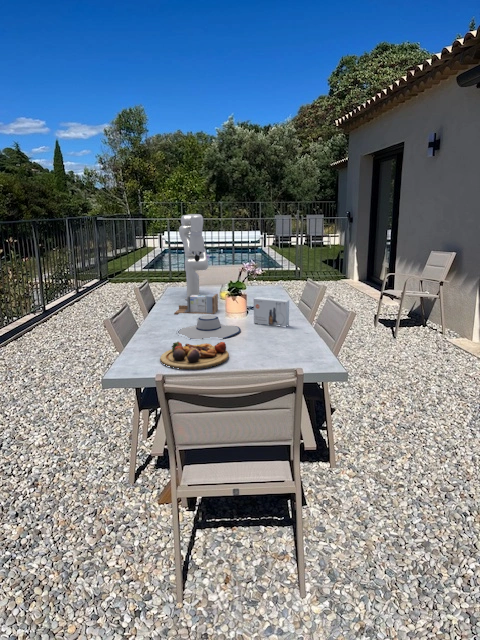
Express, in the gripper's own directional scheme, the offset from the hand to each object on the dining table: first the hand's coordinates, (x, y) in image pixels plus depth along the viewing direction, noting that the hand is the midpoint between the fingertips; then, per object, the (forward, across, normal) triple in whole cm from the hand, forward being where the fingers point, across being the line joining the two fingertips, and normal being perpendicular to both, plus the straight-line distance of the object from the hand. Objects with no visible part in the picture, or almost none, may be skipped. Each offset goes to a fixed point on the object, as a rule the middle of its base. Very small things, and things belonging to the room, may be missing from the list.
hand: (197, 261), depth 310 cm
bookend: (+31, -2, -19) cm, 36 cm away
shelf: (+32, +3, -19) cm, 37 cm away
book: (+31, +13, -18) cm, 38 cm away
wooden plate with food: (+33, +24, -109) cm, 116 cm away
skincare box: (+32, +55, -44) cm, 78 cm away
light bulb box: (+31, +5, -19) cm, 37 cm away
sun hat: (+33, +21, -62) cm, 73 cm away
